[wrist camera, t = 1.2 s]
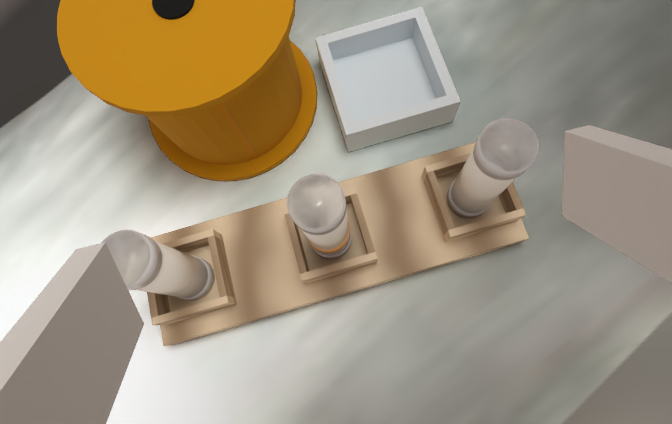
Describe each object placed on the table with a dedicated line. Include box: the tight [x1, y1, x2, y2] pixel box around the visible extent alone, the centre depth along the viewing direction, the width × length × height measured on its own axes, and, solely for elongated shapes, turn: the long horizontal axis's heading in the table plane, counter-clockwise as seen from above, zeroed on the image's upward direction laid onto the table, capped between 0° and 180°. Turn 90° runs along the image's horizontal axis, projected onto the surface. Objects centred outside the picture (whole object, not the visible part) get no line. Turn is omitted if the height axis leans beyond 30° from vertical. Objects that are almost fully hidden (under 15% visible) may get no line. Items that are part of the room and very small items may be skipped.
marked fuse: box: [287, 174, 352, 259], centre depth 34 cm, size 4×4×12 cm
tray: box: [315, 7, 461, 152], centre depth 43 cm, size 11×11×4 cm
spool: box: [57, 0, 317, 181], centre depth 39 cm, size 18×18×15 cm
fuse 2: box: [447, 118, 539, 218], centre depth 34 cm, size 4×4×12 cm
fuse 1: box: [102, 230, 215, 300], centre depth 34 cm, size 4×4×12 cm
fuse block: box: [147, 142, 529, 346], centre depth 39 cm, size 34×10×4 cm, turn 106°
